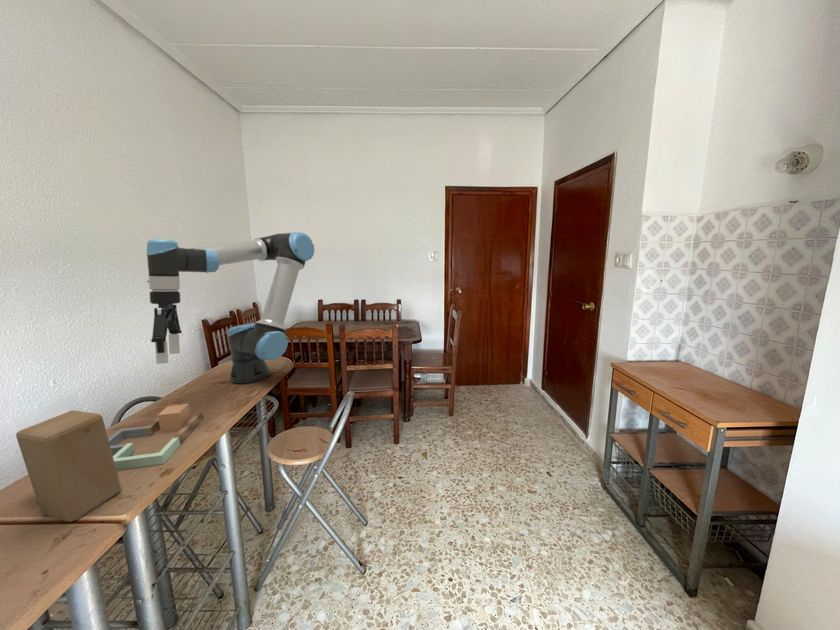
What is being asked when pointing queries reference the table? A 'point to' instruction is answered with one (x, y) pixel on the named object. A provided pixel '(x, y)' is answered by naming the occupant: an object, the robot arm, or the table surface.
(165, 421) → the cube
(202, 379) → the table surface
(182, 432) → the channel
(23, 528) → the table surface
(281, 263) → the robot arm
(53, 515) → the wooden block
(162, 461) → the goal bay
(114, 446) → the trap bay
